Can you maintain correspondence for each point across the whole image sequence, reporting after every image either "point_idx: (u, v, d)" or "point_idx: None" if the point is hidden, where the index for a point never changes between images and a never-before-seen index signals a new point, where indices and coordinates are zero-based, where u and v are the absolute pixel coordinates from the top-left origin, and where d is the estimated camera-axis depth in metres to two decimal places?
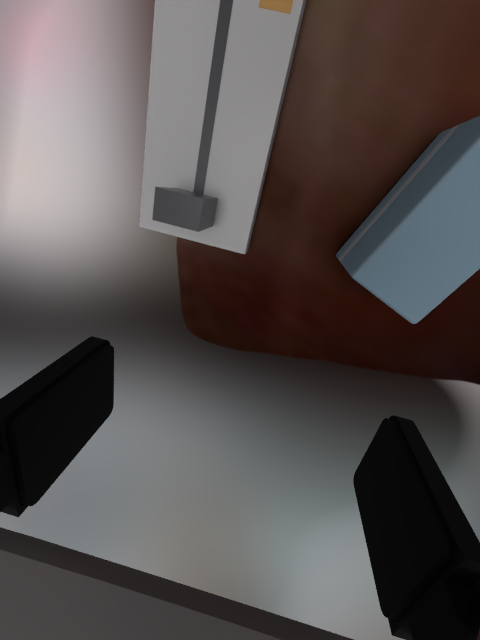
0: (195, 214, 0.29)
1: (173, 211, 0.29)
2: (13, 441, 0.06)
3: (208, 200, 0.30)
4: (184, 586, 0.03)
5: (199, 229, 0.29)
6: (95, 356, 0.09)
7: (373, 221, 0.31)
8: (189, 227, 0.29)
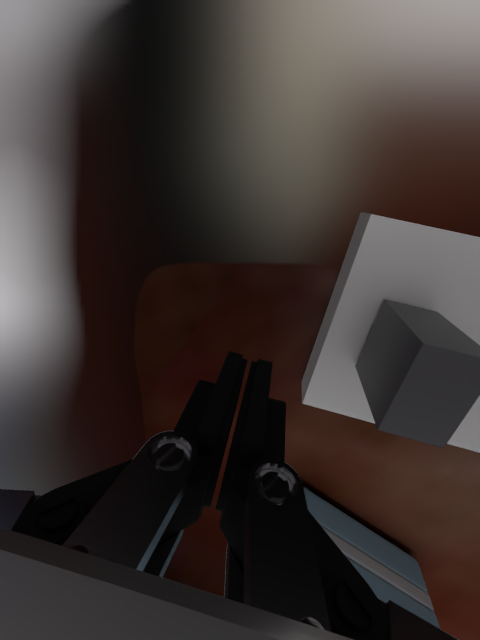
0: (415, 430, 0.14)
1: (431, 391, 0.13)
2: (219, 450, 0.07)
3: None
4: (184, 586, 0.03)
5: None
6: (242, 370, 0.09)
7: (342, 549, 0.25)
8: (389, 415, 0.14)
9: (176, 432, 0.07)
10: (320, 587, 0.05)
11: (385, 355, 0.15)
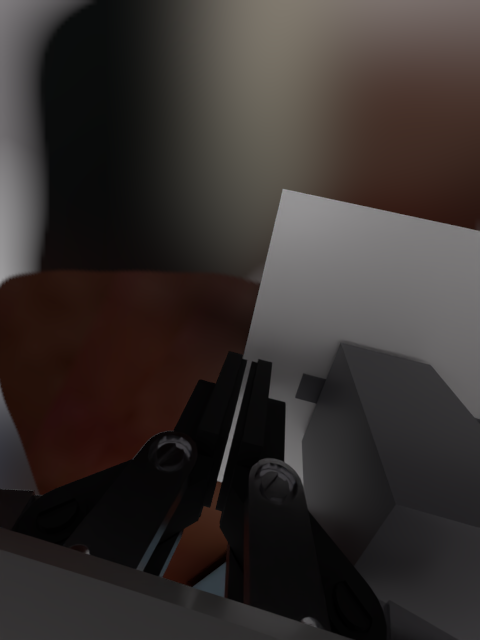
0: None
1: (417, 590, 0.06)
2: (219, 450, 0.07)
3: None
4: (184, 586, 0.03)
5: None
6: (242, 370, 0.09)
7: None
8: None
9: (176, 432, 0.07)
10: (320, 587, 0.05)
11: (333, 461, 0.08)
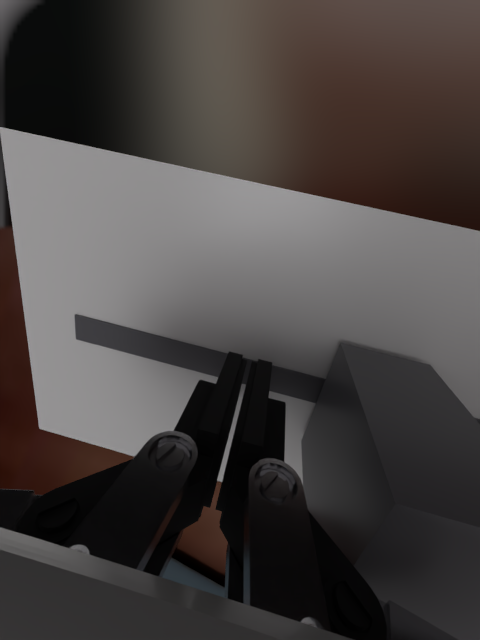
0: None
1: (416, 590, 0.06)
2: (219, 450, 0.07)
3: None
4: (184, 586, 0.03)
5: None
6: (242, 370, 0.09)
7: None
8: None
9: (176, 432, 0.07)
10: (320, 587, 0.05)
11: (333, 461, 0.08)
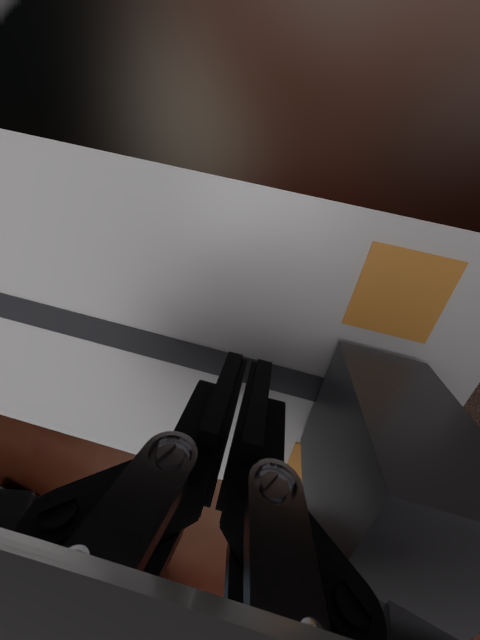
0: None
1: (411, 582, 0.06)
2: (219, 450, 0.07)
3: None
4: (184, 586, 0.03)
5: None
6: (242, 370, 0.09)
7: None
8: None
9: (176, 432, 0.07)
10: (320, 587, 0.05)
11: (331, 457, 0.08)
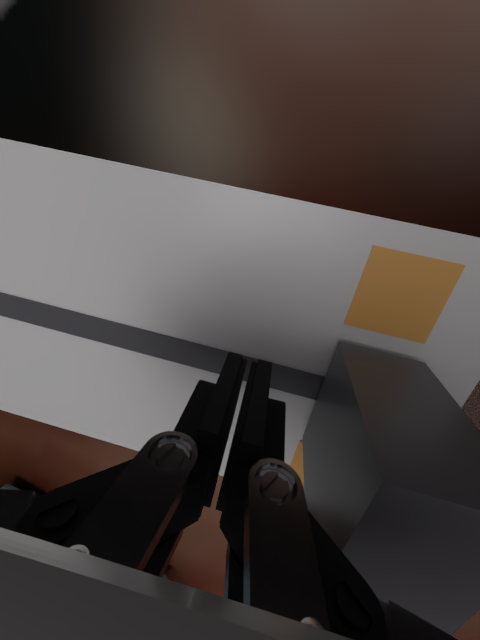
0: None
1: (405, 566, 0.06)
2: (219, 450, 0.07)
3: None
4: (184, 587, 0.03)
5: None
6: (242, 370, 0.09)
7: None
8: None
9: (176, 432, 0.07)
10: (320, 587, 0.05)
11: (330, 451, 0.09)
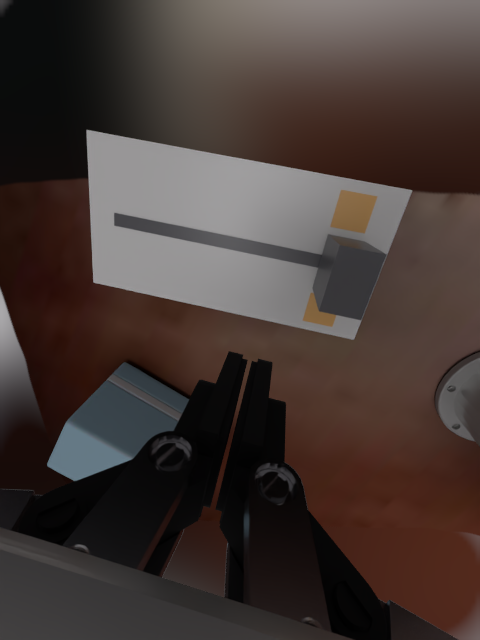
0: (342, 308, 0.21)
1: (348, 279, 0.20)
2: (219, 450, 0.07)
3: None
4: (184, 586, 0.03)
5: None
6: (242, 370, 0.09)
7: (146, 400, 0.34)
8: (325, 299, 0.21)
9: (176, 432, 0.07)
10: (320, 587, 0.05)
11: (325, 266, 0.23)
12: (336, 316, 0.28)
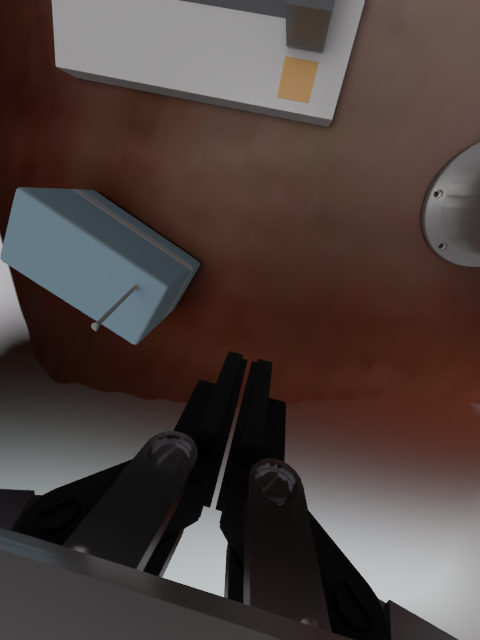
0: None
1: None
2: (219, 450, 0.07)
3: (325, 26, 0.21)
4: (184, 586, 0.03)
5: (288, 6, 0.20)
6: (242, 370, 0.09)
7: (113, 216, 0.32)
8: None
9: (176, 432, 0.07)
10: (320, 587, 0.05)
11: None
12: (313, 87, 0.26)
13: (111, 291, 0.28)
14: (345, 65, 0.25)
